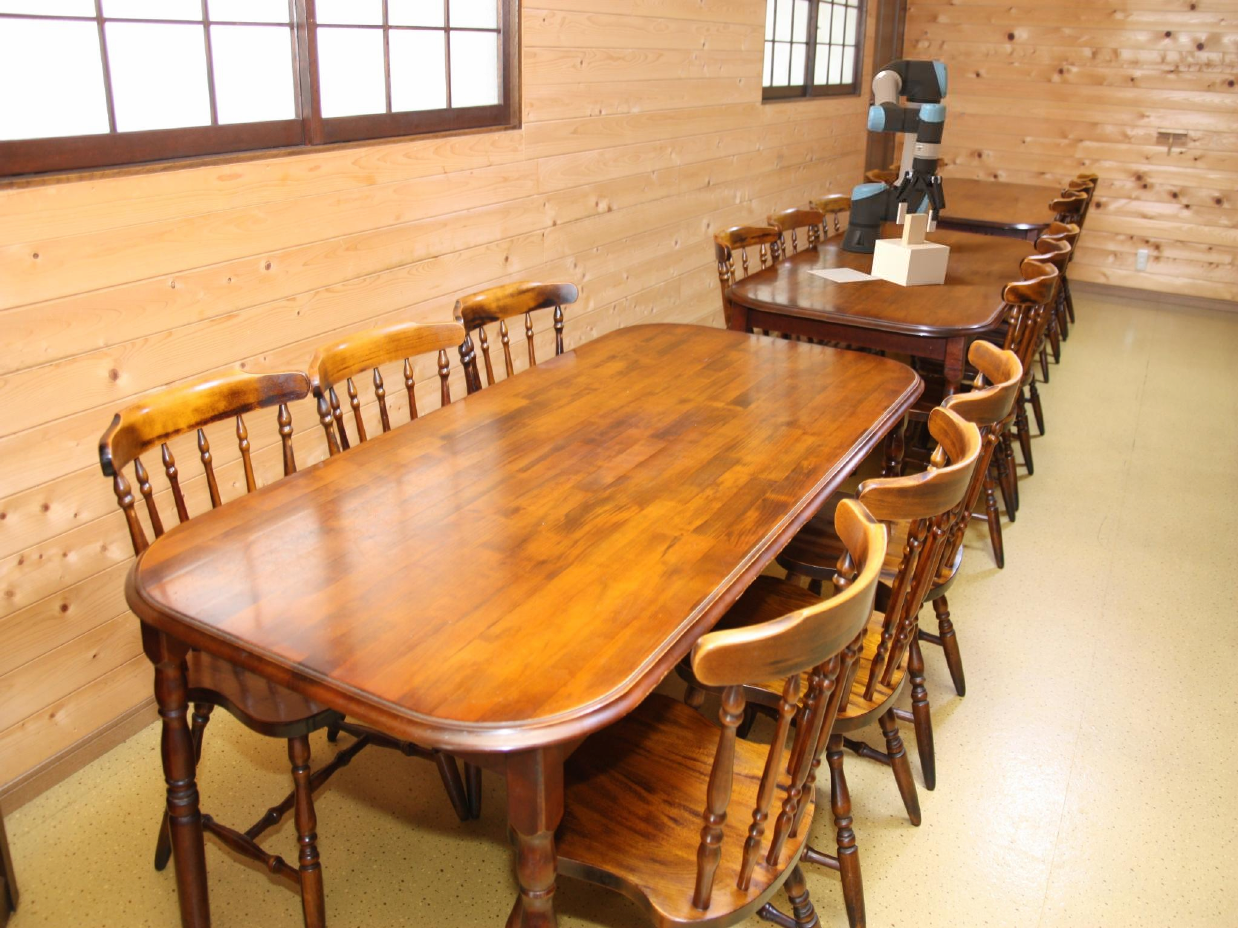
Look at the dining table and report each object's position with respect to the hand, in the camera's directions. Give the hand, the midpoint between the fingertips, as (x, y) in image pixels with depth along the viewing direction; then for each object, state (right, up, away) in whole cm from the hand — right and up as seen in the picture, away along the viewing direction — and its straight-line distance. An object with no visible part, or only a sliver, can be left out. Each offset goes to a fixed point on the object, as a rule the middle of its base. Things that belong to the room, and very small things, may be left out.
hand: (915, 227), depth 323 cm
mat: (-21, -14, +8) cm, 26 cm away
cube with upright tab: (-1, -15, +7) cm, 17 cm away
